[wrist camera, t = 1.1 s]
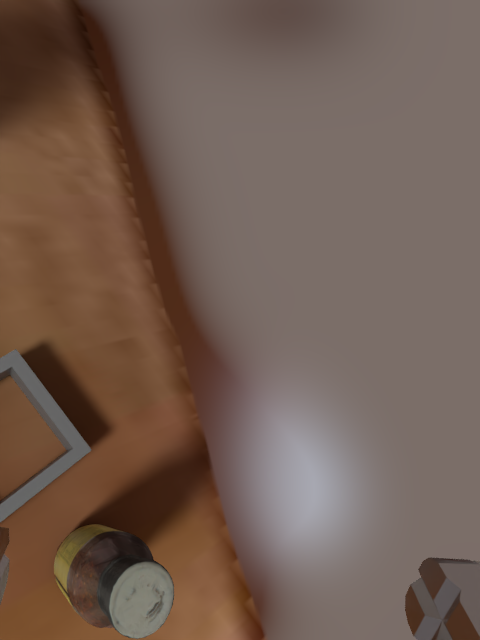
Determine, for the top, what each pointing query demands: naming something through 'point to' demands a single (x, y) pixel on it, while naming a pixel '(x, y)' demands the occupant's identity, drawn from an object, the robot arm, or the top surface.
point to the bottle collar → (54, 419)
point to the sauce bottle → (113, 580)
